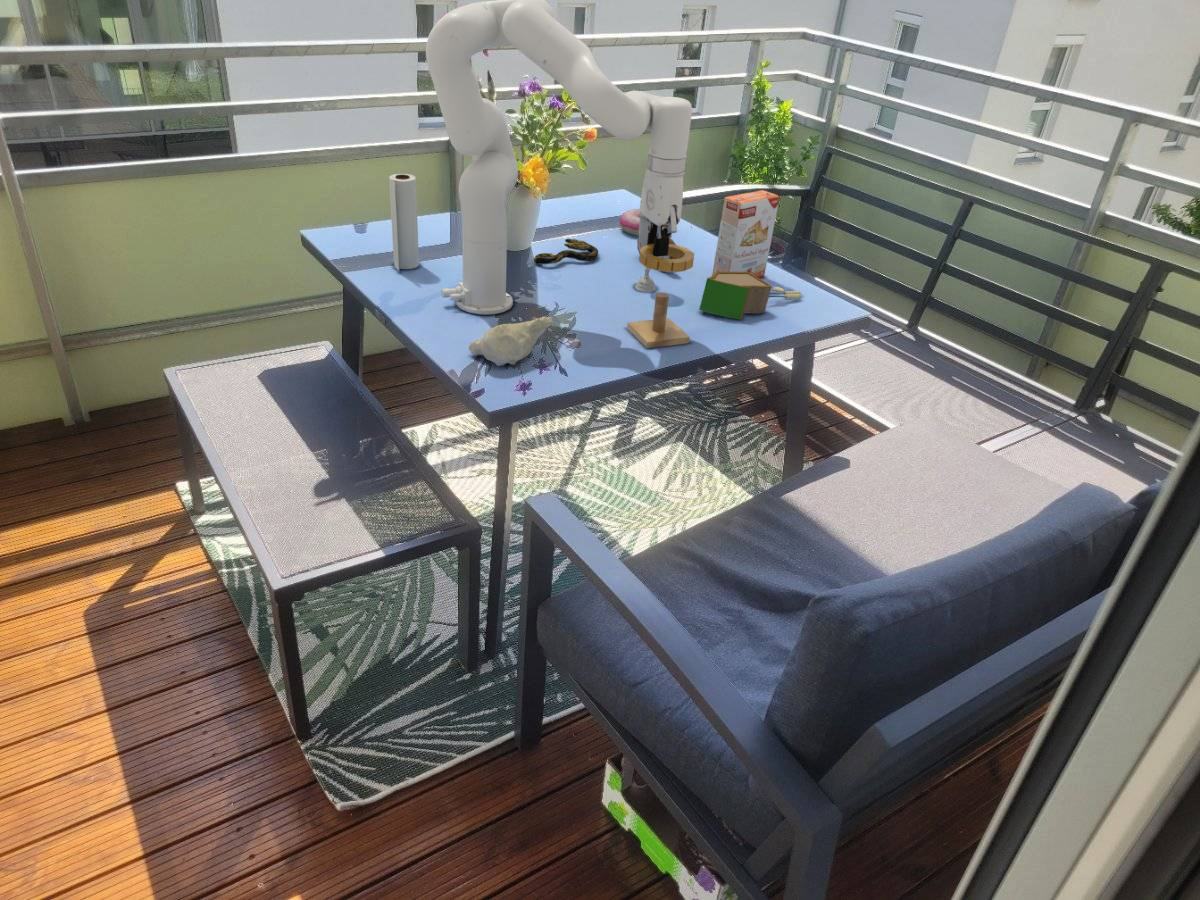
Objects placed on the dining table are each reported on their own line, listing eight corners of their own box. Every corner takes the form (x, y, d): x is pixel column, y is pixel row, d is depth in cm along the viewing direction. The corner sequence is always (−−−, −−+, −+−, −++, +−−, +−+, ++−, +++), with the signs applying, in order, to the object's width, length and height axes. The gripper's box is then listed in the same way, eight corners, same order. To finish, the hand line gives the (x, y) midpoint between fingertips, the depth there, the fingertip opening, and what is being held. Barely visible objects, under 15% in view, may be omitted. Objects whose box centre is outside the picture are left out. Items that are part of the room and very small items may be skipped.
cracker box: (728, 288, 221) (741, 203, 210) (710, 279, 225) (722, 196, 214) (766, 277, 229) (781, 195, 218) (748, 269, 233) (762, 188, 222)
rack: (646, 348, 190) (651, 306, 184) (626, 328, 197) (630, 287, 192) (688, 343, 193) (694, 301, 188) (667, 323, 201) (672, 283, 196)
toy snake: (538, 248, 220) (526, 237, 228) (537, 266, 222) (525, 255, 231) (607, 246, 227) (592, 235, 235) (605, 264, 229) (591, 253, 237)
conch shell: (467, 381, 176) (525, 349, 169) (453, 346, 177) (510, 313, 169) (512, 375, 189) (567, 345, 182) (498, 343, 190) (553, 312, 182)
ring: (653, 274, 180) (654, 264, 179) (630, 254, 189) (631, 245, 187) (702, 269, 184) (703, 260, 183) (677, 250, 193) (678, 241, 191)
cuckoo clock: (783, 300, 225) (685, 301, 210) (791, 270, 222) (692, 269, 207) (814, 318, 217) (715, 320, 201) (824, 287, 213) (723, 286, 198)
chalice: (657, 295, 214) (665, 221, 204) (628, 291, 215) (635, 217, 205) (661, 284, 220) (669, 211, 210) (633, 280, 221) (641, 207, 211)
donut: (618, 237, 246) (619, 219, 244) (619, 221, 257) (620, 204, 255) (667, 241, 246) (669, 223, 244) (666, 225, 258) (668, 208, 255)
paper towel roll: (409, 259, 222) (405, 171, 211) (424, 266, 219) (421, 177, 207) (384, 265, 218) (379, 175, 206) (399, 273, 214) (394, 182, 203)
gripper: (632, 154, 184) (624, 241, 194) (667, 176, 172) (657, 268, 182) (665, 152, 187) (656, 238, 197) (702, 174, 175) (690, 265, 185)
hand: (657, 252), depth 189 cm, fingers closed on ring, 2 cm apart
